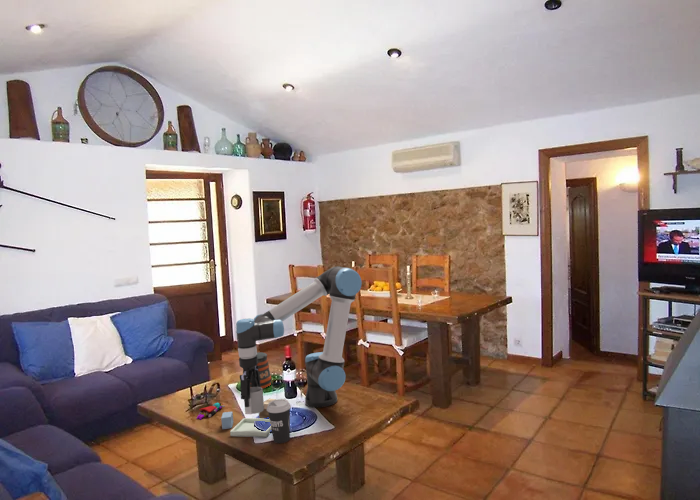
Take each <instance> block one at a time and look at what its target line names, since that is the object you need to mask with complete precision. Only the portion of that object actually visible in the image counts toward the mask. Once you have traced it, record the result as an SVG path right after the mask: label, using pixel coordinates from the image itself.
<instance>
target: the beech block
mask: <svg viewBox="0 0 700 500" xmlns="http://www.w3.org/2000/svg"><path fill="white" fill-rule="evenodd" d="M273 400H277V399H276V398H271V397H270V398H268V399H266V400H265V401H264V400H263V402H264V405H268V404H269V402H271V401H273Z"/></svg>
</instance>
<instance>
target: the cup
mask: <svg viewBox="0 0 700 500" xmlns="http://www.w3.org/2000/svg"><path fill="white" fill-rule="evenodd" d="M263 391H264V389H262V388H261V387H251V388H250V398H251V406H252V414H251V415H253V414H259V413H260V412H262V411H263V410H264V394H263V393H264V392H263Z"/></svg>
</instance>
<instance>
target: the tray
mask: <svg viewBox="0 0 700 500" xmlns="http://www.w3.org/2000/svg"><path fill="white" fill-rule="evenodd" d="M254 421H265V422H270V419H264V418H258V417H257V418H255V417H252V418H250V417H243V418H242V419H241V420H240V422H238V423H237V424H236V425H235V426H234V427H232V428H231V430H230V431H229V434H230V437H250V438H251V437H252V438H268V437H269V435H270V434H271V433H270V430H271V426H270V427H269V428H268V429H267V430H266V431H261V430H258V429H257V428H256V427H254ZM269 433H270V434H269Z"/></svg>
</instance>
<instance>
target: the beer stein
mask: <svg viewBox="0 0 700 500" xmlns="http://www.w3.org/2000/svg"><path fill="white" fill-rule="evenodd" d="M256 356H257V359H258V364H257V365H258V366H259V377H260V383H261V388H262V390H264V388H265V389H267V388H266V387H268V386H269V387H270V385H271V381H272V382H273V379H272V375H271V371H270V363H269V358H268V354H267V353H265V352H262V351H261V352H258V351H257V355H256ZM247 380H250V379H247ZM271 386H272V385H271ZM251 387H252V385H250V388H251ZM269 387H268V388H269Z"/></svg>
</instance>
